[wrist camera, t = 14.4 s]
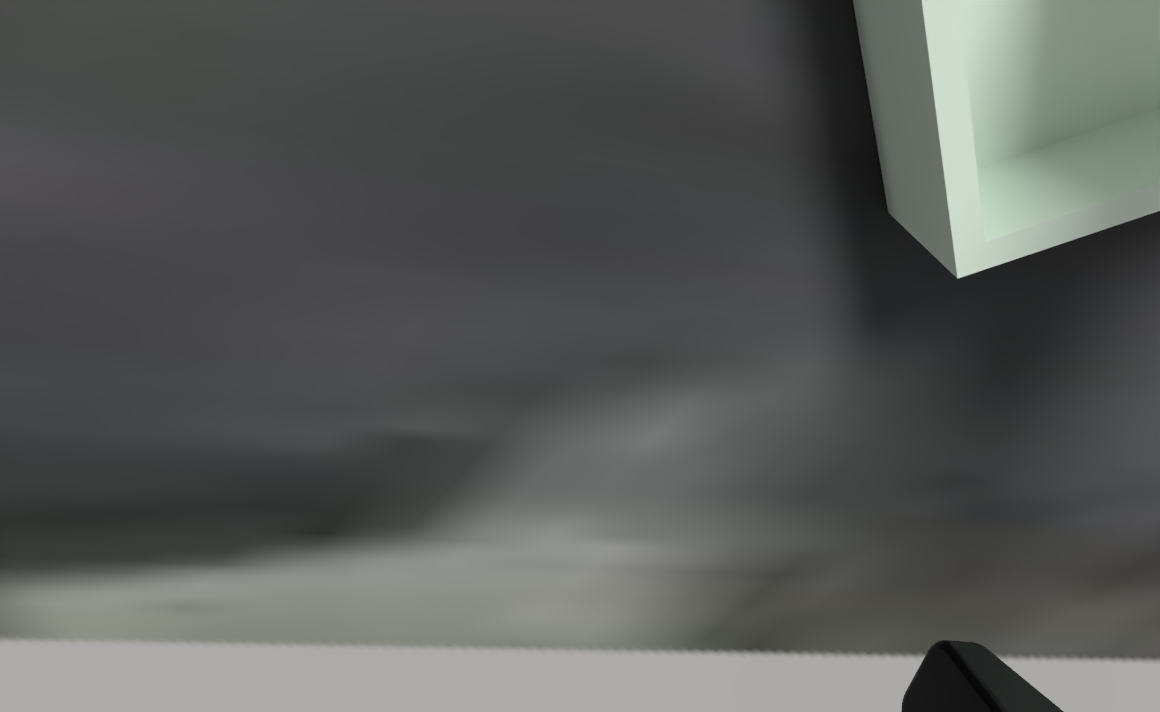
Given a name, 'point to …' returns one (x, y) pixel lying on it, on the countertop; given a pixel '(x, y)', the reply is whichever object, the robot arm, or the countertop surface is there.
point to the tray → (1013, 120)
